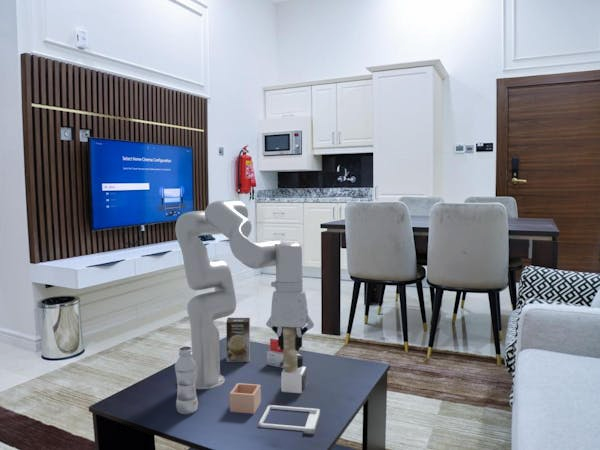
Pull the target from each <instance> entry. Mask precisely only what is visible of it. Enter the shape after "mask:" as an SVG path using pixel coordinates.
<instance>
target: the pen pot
mask: <svg viewBox="0 0 600 450" xmlns="http://www.w3.org/2000/svg"><path fill="white" fill-rule="evenodd" d="M261 388H262V387H261V384H256V383H255V384H254V383H243V382H237V383H236V384H235V386H234V387H233V388H232V389H231V391H230V392H229V412H230V413H241V414H243V413H244V414H252V415H253V414H256V412H257V410H258V408H259V407H260V404H261V403H262V397H261V396H262V392H261V391H262V389H261Z"/></svg>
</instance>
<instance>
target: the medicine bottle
mask: <svg viewBox="0 0 600 450" xmlns="http://www.w3.org/2000/svg"><path fill="white" fill-rule="evenodd" d="M280 375H281V376H280V377H281V379H280V381H281V382H280V383H281V384H280V385H281V386H280V388H281V389H280V390H281V391H280V392H283V393H292V394H293V393H295V394H303V393H304V391H305V388H306V386H307V367H306V366H304V357H303V355H301V354H299V353H297V371H296V372H293V373H287V372H285V371H284V369H282V371H281V373H280Z"/></svg>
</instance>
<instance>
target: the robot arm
mask: <svg viewBox="0 0 600 450" xmlns="http://www.w3.org/2000/svg"><path fill="white" fill-rule="evenodd" d="M248 211H249V210H248V207H247V206H246V204H244V203H243V202H242V201H240V200H235V199H234V200H231V199H230V200H216V201H213V202H210V203H209V204H208V205H207V206H206V208H205V210H196V211H195V210H194V211H188V212H185V213H182V214H181V215H179V217H178V218H177V220H176V223H175V226H174V227H175V237H176V239H177V242H178V245H179V247H180V250H181V253H182V259H183V265H184V271H185V277H186V281H187V285H188V287H189V288H190V289H191V290H192V291H203V290H209V289H214V291H210V292H206V293H201V294H197V295H195V296H193V297H191V298H190V300H189V301H188V303H187V308H186V310H187V316H188V319H189V325H190V338H191V339H190V341H191V342H190V343H191V344H190V345H191V348H192V355H191V356H192V357H193V358H194V360H195V361H196V364H197V368H196V380H195V387H196V390H210V389H214V388H218V387H220V386H221V385H224V383H225V381H226V378H225V377H224V376H223V375H222V374H221V360H220V359H221V358H220V357H221V354H220V353H221V352H220V332H219V329H218V327H217V326H216V324H215V323H214V321H215V320H219V319H222V318H225V317H228V316H231V315H232V314H234V313H235V311H236V309H237V298H236V292H235V287H234V286H235V285H234V282H233V281H234V280H233V276H232V271H231V268H230V267H229V265H228V264H227V262H225V261H224V260H223V259H222V260H221V259H213V260H210V258H209V254H208V249H207V247H206V245H205V244H204V242H203V241H202V240H201V239H200V238H199V237H201V236H213V235H220V234H222V235H224V236H225V237H226V238H227V239H228V240H229V247H230V250H231V253H232V255H233V256H234V257H235V258H236V259H237V260H238V261H239V262H241V264H243V265H244V266H246V267H247V268H250V269H253V270H258V269H265V268H267V267H275V281H271V284H270V286H271V287H273V288H274V289H275V290H274V291H273V293H272V298H271V308H270V309H271V311H270V316H269V318H268V320H267V321H266V323H265V325H266V327H268V328H270V329H271V330H272V331H273V332H274V333H275V334H276V336H277V340H278V346H280V350H283V327H290V328H296V330H297V337H296V350H297V352H299V351H300V349H301V348H302V347H303V336H304V335H305V334H306V332H308V331H309V330H311V329H313V328H314V327H315V323H314V322H313V320H312V319H311V317H310V315H309V313H308V312H309V311H308V309H309V308H308V303H307V301H308V300H307V294H306V291H305V290H304V289H303V285H304V284H303V248H302V246H301V244H299V243H296V242H286V241H283V240H280V239H273V240H266V241H265V240H263V241H257V242H253V241H251V240H250V239H249V238H248V237H249V236H250V234H251V232H252V222H251V221H250V220H249V218H248V217H249V212H248Z"/></svg>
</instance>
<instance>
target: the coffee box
mask: <svg viewBox="0 0 600 450" xmlns="http://www.w3.org/2000/svg"><path fill="white" fill-rule="evenodd" d="M250 323H251V318H250V317H227V319H226V323H225V324H226V362H227V363H247V362H248V363H249V362H250V358H251V336H250V334H251V324H250Z"/></svg>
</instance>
